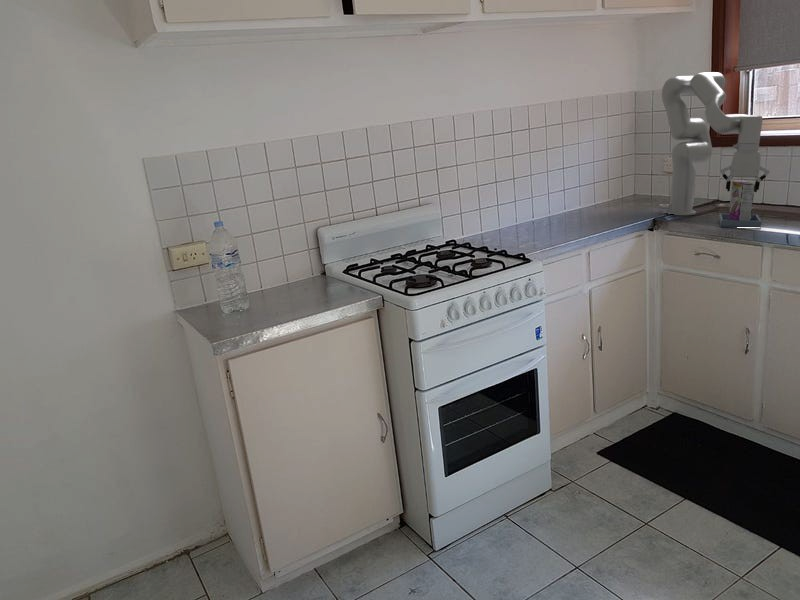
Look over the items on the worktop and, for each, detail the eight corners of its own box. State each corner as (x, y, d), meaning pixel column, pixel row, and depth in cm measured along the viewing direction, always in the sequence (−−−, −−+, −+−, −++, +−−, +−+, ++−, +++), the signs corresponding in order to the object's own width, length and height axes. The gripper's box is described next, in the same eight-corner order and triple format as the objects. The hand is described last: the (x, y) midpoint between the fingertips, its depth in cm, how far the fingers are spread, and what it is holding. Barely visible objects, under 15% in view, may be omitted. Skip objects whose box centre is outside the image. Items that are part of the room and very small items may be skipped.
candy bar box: (727, 220, 266) (731, 180, 261) (739, 220, 265) (744, 180, 260) (737, 225, 255) (742, 183, 250) (750, 225, 254) (756, 183, 250)
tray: (720, 227, 256) (721, 220, 255) (718, 220, 270) (719, 213, 269) (760, 229, 250) (761, 221, 249) (756, 222, 264) (757, 214, 264)
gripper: (723, 148, 251) (718, 192, 257) (774, 148, 245) (767, 193, 250) (722, 146, 258) (717, 189, 263) (771, 147, 251) (765, 190, 257)
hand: (741, 191), depth 257 cm, fingers open, 9 cm apart
